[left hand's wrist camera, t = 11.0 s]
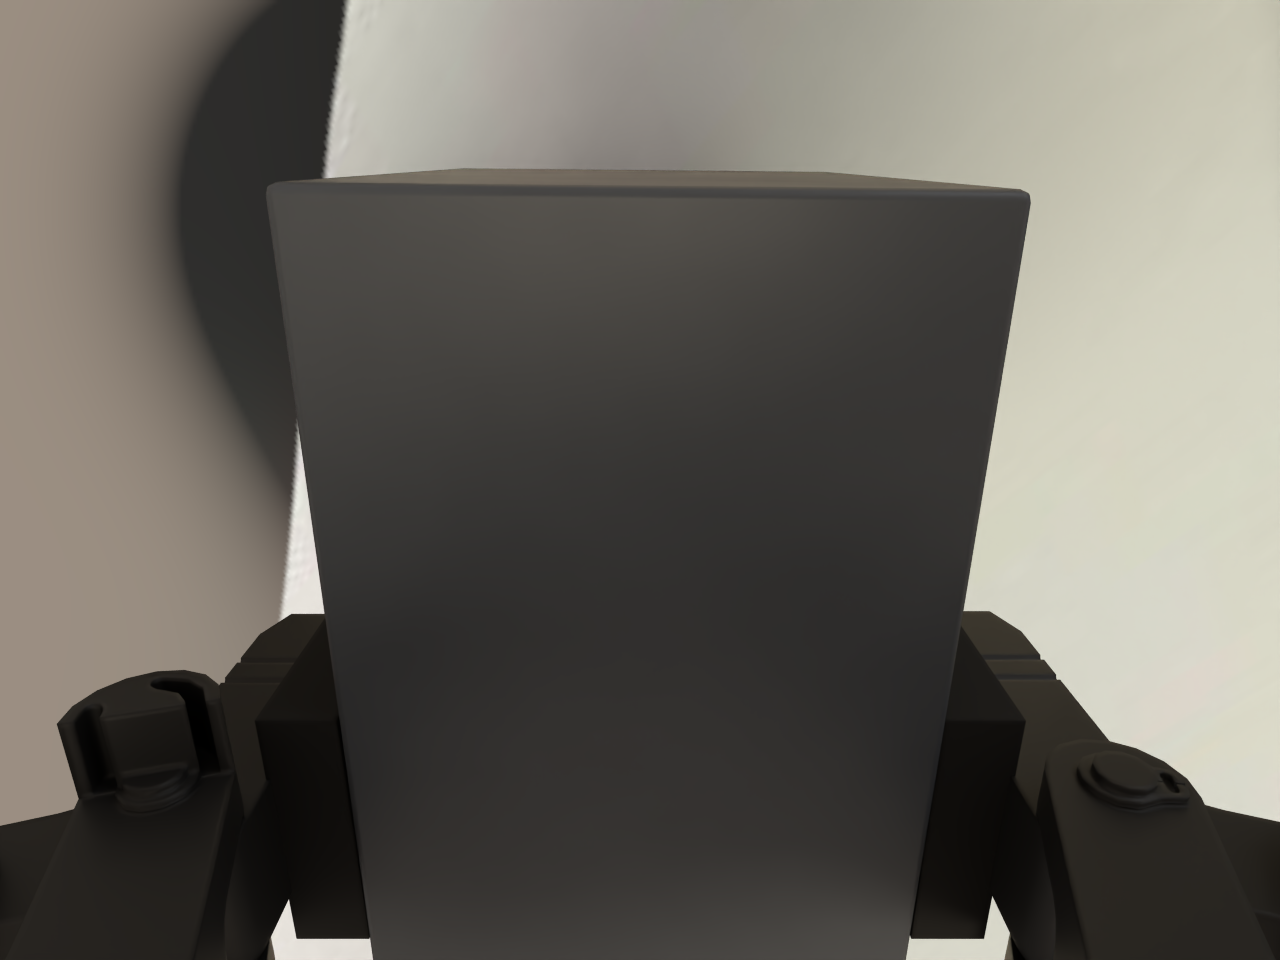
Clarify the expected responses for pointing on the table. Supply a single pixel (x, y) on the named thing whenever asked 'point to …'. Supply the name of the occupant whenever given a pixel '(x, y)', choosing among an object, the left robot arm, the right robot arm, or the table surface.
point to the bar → (643, 543)
